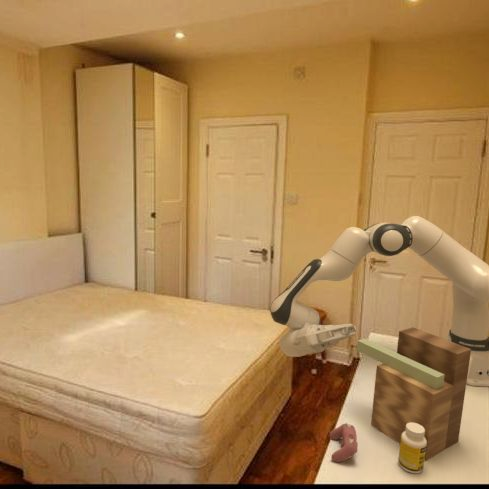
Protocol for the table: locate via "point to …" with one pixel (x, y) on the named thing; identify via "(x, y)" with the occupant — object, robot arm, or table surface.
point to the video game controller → (344, 442)
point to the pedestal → (423, 391)
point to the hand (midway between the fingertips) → (343, 331)
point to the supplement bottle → (412, 448)
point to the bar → (401, 363)
